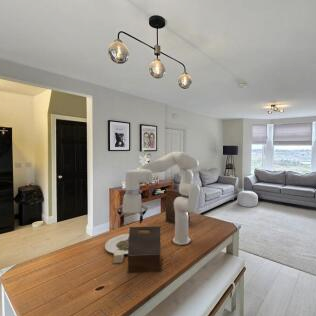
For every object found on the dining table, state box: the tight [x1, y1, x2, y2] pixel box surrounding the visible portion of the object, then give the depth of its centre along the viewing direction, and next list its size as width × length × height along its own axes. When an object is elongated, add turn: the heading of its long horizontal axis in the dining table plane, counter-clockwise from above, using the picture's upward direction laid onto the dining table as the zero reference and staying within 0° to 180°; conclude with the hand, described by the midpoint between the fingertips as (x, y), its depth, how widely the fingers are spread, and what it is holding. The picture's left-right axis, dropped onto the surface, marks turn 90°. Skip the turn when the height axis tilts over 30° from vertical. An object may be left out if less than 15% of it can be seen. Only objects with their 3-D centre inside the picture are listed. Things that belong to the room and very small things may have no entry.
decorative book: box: [165, 188, 191, 226], centre depth 174 cm, size 23×7×30 cm, turn 56°
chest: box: [127, 242, 162, 273], centre depth 110 cm, size 13×17×9 cm
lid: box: [127, 225, 162, 256], centre depth 103 cm, size 14×17×5 cm
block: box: [113, 251, 125, 264], centre depth 113 cm, size 4×4×4 cm
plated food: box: [104, 232, 129, 255], centre depth 132 cm, size 30×30×3 cm
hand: (131, 222), depth 109 cm, fingers open, 9 cm apart
